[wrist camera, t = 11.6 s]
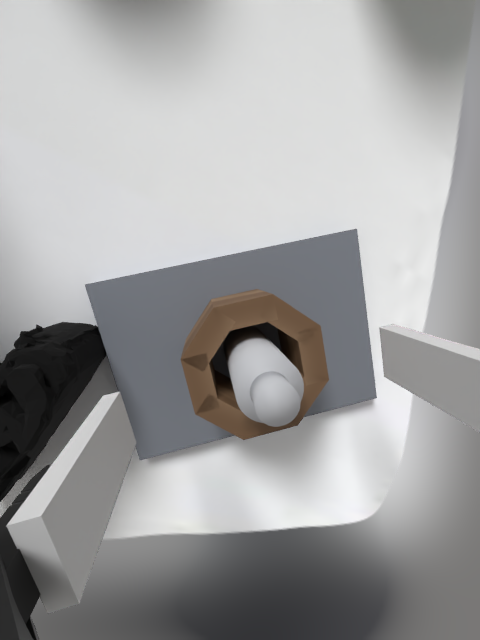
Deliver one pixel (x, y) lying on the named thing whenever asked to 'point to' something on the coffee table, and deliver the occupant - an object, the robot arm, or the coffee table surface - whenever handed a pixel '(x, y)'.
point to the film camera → (42, 390)
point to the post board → (183, 299)
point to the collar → (217, 390)
